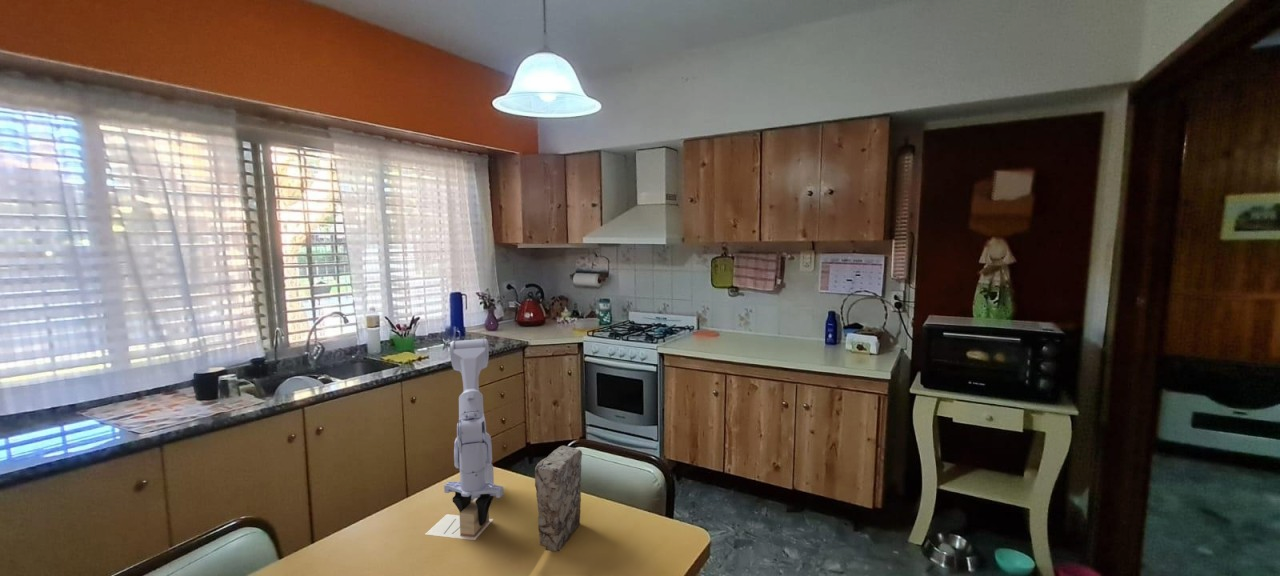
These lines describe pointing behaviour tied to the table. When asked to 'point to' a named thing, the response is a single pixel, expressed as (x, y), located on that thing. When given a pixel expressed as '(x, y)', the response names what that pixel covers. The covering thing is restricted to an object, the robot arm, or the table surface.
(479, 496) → the robot arm
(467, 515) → the block
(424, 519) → the table surface
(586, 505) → the table surface
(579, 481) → the stone block
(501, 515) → the table surface
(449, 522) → the board
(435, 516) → the table surface
